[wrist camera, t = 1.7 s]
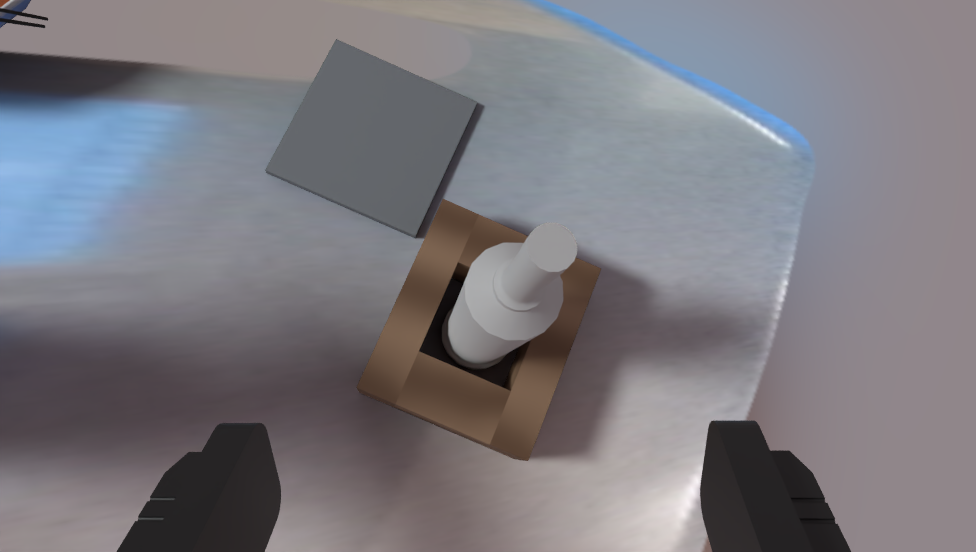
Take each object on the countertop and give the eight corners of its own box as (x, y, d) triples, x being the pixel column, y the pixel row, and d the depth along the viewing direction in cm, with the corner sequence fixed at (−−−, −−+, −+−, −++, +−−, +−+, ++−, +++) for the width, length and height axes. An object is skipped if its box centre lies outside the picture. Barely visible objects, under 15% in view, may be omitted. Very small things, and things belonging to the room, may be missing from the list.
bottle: (501, 295, 53) (597, 175, 29) (516, 363, 52) (630, 298, 28) (433, 308, 52) (474, 196, 28) (447, 378, 51) (503, 323, 27)
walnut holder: (514, 458, 51) (528, 461, 46) (359, 392, 50) (356, 387, 45) (581, 283, 54) (601, 268, 49) (437, 220, 54) (443, 198, 49)
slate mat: (415, 238, 53) (415, 235, 53) (266, 173, 53) (265, 170, 52) (476, 105, 56) (477, 102, 56) (336, 43, 56) (336, 39, 55)
